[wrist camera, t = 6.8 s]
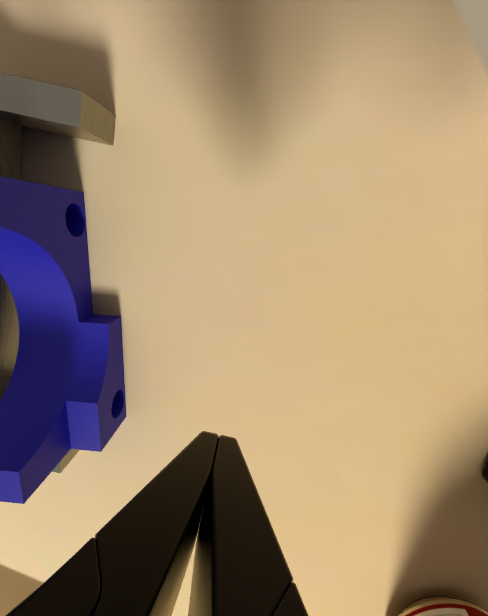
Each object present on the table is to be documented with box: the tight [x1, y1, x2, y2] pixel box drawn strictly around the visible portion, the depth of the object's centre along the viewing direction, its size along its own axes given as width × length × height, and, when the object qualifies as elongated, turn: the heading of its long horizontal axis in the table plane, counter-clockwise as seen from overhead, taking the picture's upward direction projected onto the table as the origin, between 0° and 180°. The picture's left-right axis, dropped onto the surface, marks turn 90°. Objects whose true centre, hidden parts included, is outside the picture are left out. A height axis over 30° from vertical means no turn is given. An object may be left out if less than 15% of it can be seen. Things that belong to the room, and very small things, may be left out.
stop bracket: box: [0, 73, 115, 473], centre depth 14 cm, size 5×17×3 cm, turn 168°
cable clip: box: [0, 176, 126, 504], centre depth 13 cm, size 12×4×6 cm, turn 177°
